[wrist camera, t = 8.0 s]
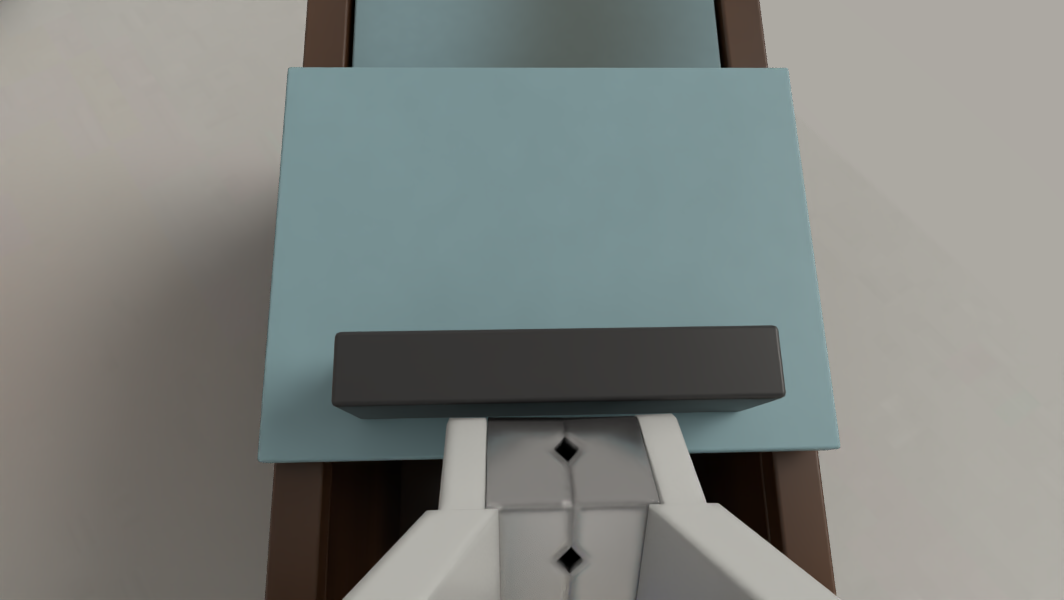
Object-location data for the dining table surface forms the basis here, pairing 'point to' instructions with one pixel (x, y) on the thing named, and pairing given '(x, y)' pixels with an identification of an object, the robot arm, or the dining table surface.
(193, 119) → the dining table surface
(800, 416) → the blue box lid
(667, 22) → the brown wooden box
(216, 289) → the dining table surface
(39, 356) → the dining table surface
